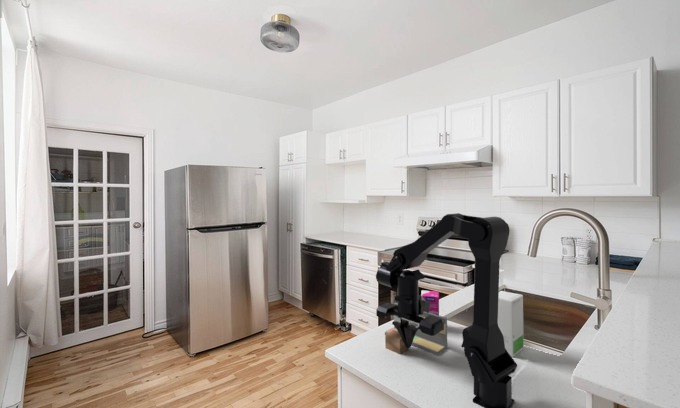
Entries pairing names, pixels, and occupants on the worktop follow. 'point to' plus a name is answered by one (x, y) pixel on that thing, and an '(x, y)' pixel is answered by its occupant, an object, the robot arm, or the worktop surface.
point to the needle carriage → (394, 342)
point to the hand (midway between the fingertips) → (408, 347)
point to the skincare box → (511, 321)
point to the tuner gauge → (429, 337)
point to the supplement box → (431, 300)
